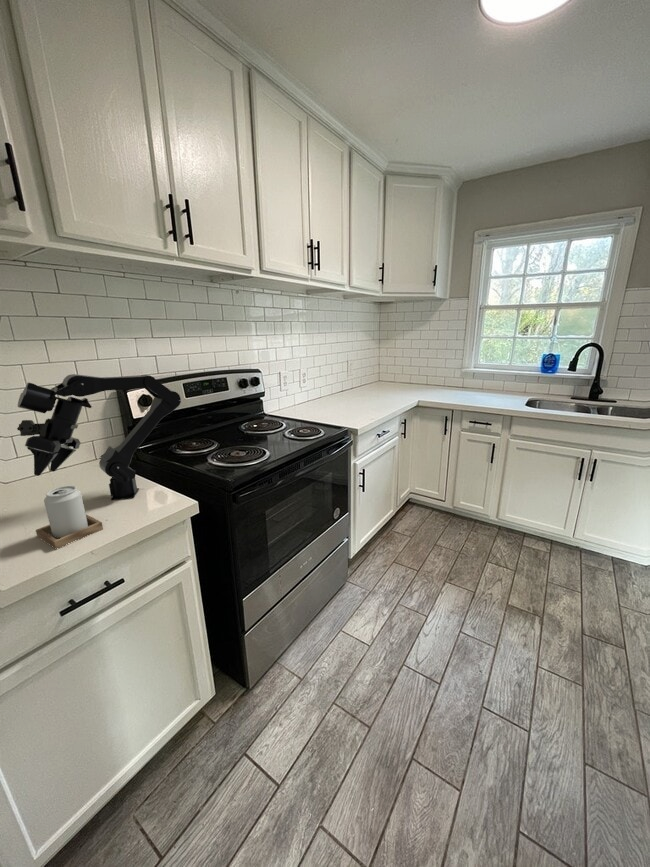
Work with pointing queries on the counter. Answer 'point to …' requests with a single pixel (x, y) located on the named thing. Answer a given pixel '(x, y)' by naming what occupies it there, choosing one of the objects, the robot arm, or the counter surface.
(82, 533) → the frame
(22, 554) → the counter surface
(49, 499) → the can
